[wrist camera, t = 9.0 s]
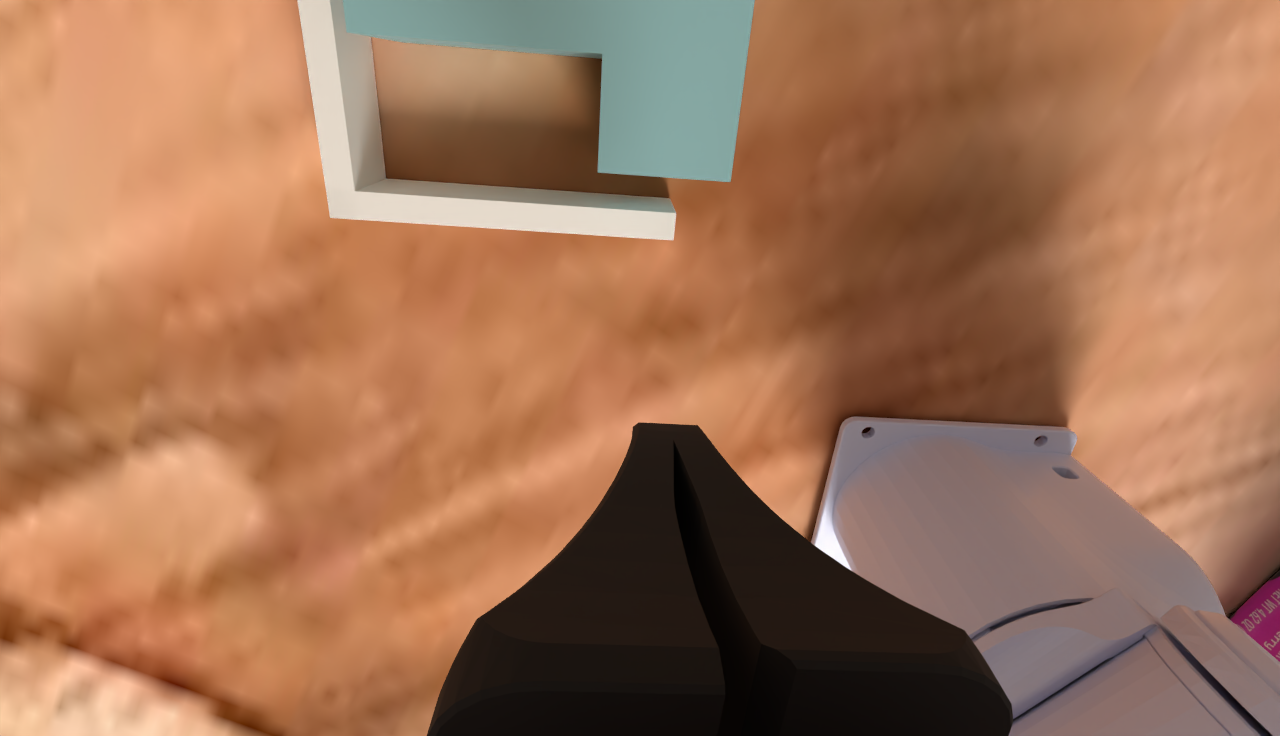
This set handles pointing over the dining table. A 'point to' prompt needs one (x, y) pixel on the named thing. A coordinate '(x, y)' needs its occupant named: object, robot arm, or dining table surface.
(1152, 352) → the dining table surface
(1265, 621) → the candy bar box
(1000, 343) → the dining table surface
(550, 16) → the t block
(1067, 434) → the robot arm
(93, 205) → the dining table surface
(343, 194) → the white u-shaped bracket
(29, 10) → the dining table surface
